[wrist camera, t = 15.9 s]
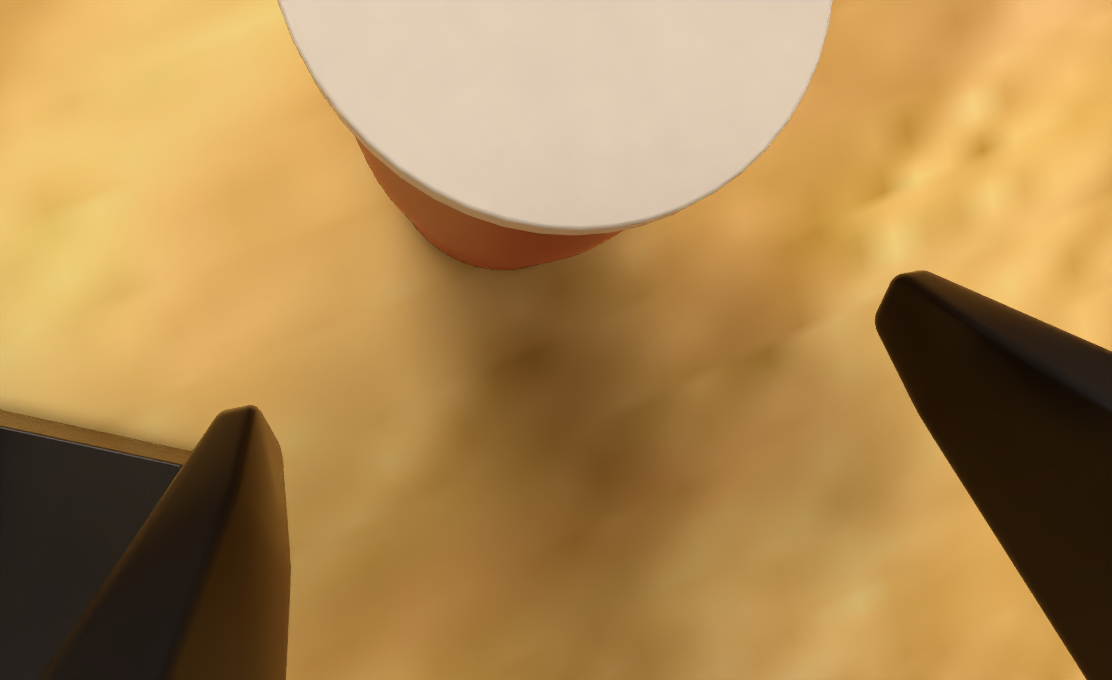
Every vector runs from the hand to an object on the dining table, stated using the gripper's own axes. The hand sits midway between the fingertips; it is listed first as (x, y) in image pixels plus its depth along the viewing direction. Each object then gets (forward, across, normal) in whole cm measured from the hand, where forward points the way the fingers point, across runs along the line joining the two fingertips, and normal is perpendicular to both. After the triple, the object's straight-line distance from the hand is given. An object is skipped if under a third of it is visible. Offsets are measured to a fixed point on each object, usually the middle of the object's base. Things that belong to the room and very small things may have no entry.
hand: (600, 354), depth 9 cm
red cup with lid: (+8, 0, +1) cm, 8 cm away
